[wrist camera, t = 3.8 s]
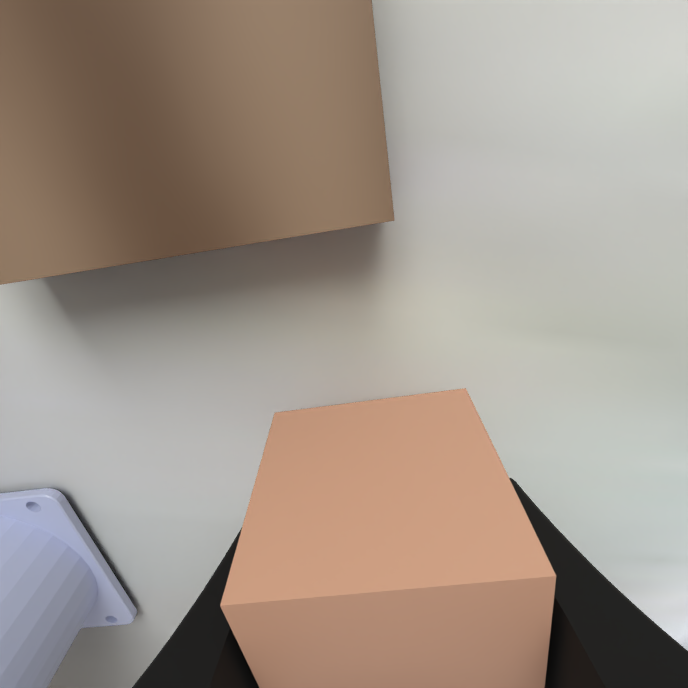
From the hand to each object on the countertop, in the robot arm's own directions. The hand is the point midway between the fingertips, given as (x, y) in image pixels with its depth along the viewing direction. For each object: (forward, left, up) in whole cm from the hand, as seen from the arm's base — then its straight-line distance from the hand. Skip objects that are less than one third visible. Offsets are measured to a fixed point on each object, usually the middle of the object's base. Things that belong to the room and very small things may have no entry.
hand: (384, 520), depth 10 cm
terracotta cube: (0, 0, -2) cm, 2 cm away
